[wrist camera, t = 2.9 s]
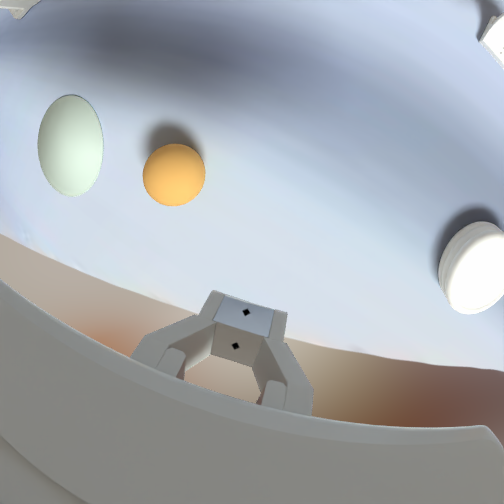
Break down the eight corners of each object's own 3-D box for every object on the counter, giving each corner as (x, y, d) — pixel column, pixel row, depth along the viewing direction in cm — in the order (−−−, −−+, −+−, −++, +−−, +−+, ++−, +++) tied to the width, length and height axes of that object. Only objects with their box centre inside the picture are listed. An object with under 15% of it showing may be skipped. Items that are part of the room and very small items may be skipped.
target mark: (31, 163, 28) (30, 163, 28) (57, 80, 22) (56, 80, 22) (83, 215, 30) (82, 216, 30) (120, 126, 24) (119, 126, 24)
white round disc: (492, 293, 24) (503, 310, 21) (429, 301, 27) (438, 321, 24) (510, 218, 20) (526, 231, 17) (442, 220, 23) (457, 235, 20)
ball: (152, 173, 26) (121, 189, 21) (179, 129, 24) (149, 135, 19) (193, 206, 27) (169, 228, 22) (225, 163, 24) (203, 176, 20)
